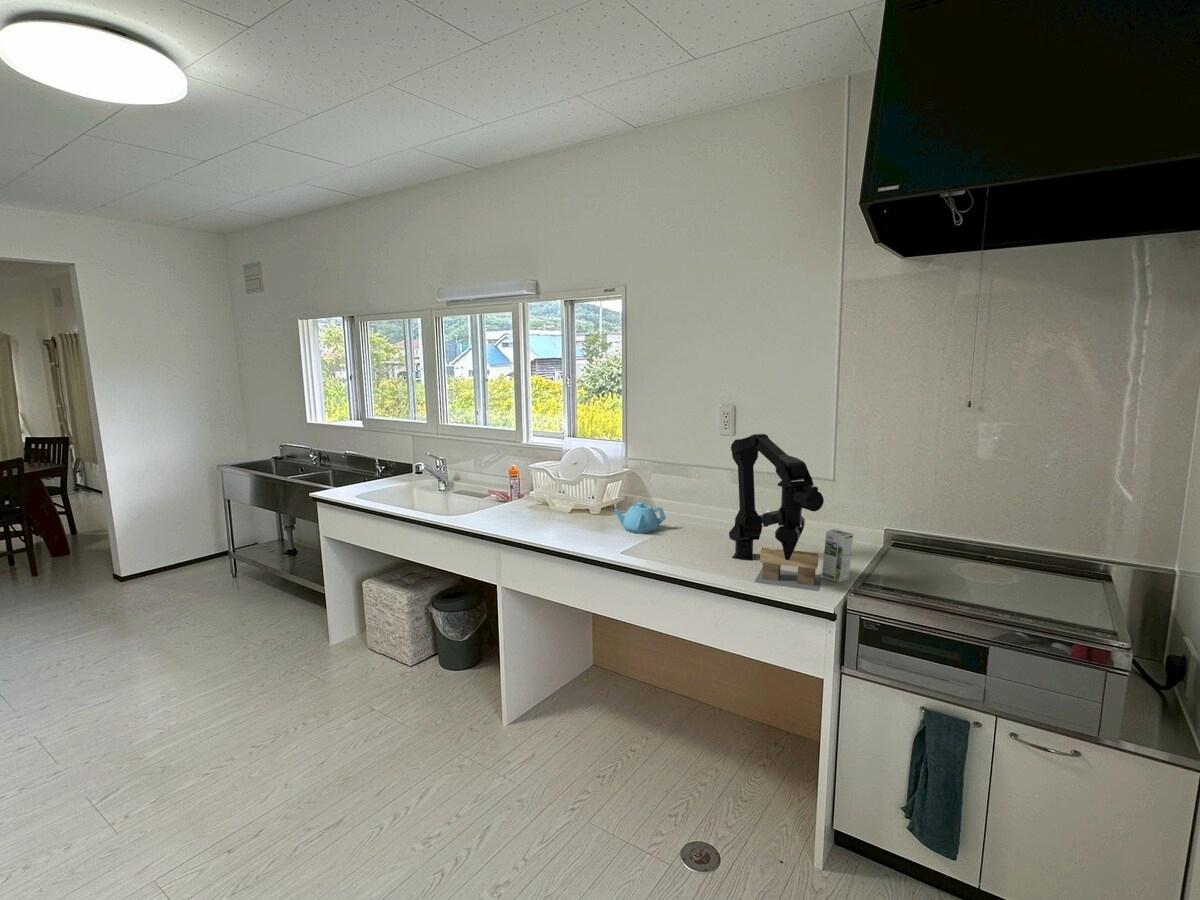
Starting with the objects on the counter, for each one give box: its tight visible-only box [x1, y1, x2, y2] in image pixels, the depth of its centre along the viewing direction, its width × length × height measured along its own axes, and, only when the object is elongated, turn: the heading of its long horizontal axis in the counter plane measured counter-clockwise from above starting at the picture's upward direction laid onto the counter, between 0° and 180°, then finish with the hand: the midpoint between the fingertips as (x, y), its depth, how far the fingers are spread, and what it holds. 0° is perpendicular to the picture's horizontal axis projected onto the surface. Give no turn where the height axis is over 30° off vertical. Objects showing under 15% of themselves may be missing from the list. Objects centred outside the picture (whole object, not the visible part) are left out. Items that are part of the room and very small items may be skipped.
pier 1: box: [762, 562, 781, 581], centre depth 183 cm, size 4×4×5 cm
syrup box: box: [821, 528, 854, 583], centre depth 182 cm, size 6×6×14 cm
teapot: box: [613, 501, 667, 534], centre depth 238 cm, size 15×15×11 cm
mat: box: [754, 567, 823, 592], centre depth 183 cm, size 14×18×1 cm
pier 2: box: [797, 567, 817, 586], centre depth 179 cm, size 4×4×5 cm
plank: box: [759, 546, 819, 570], centre depth 181 cm, size 4×16×4 cm, turn 66°
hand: (789, 555), depth 181 cm, fingers open, 9 cm apart
